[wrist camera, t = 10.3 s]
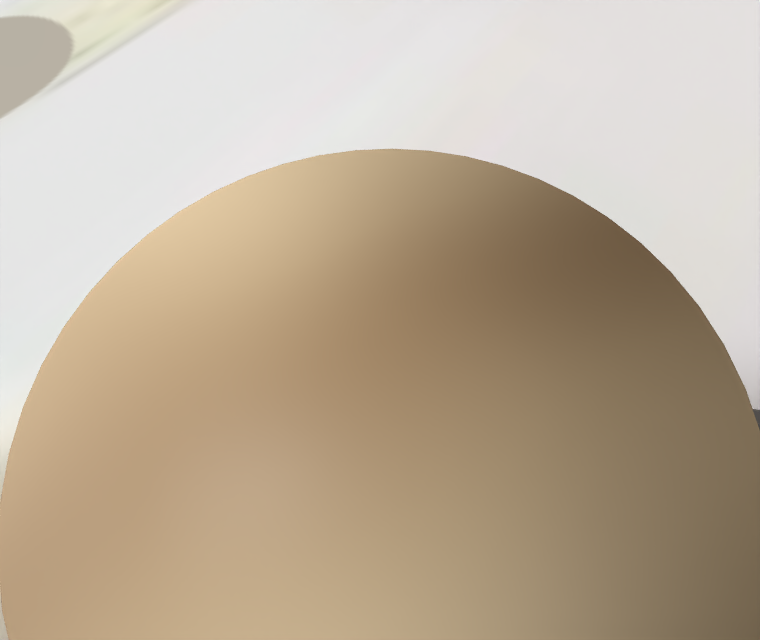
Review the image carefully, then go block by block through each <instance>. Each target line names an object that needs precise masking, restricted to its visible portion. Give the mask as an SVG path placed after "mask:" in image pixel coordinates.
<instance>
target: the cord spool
mask: <svg viewBox="0 0 760 640" xmlns="http://www.w3.org/2000/svg"><path fill="white" fill-rule="evenodd" d="M0 591H1V603H2V612H3V616H4V621H5V625H6V630H7V634H8V638H9V640H760V430H759V427H758V424H757V421H756V418H755V415H754V412H753V409H752V406H751V404H750V401H749V398H748V395H747V392H746V389H745V387H744V385H743V383H742V381H741V379H740V376H739V374H738V372H737V370H736V368H735V366H734V364H733V362H732V360H731V358H730V356H729V354H728V352H727V350H726V348H725V346H724V344H723V342H722V341H721V339H720V338H719V336H718V335H717V333H716V332H715V330H714V329H713V327H712V325H711V324H710V322H709V321H708V319H707V318H706V316H705V315H704V313H703V312H702V310H701V308H700V307H699V306H698V304H697V303H696V302H695V301H694V300H693V298H692V297H691V296H690V295H689V293H688V292H687V291H686V290H685V289H684V287H683V286H682V285H681V284H680V283H679V281H678V280H677V279H676V278H675V276H674V275H673V274H672V273H671V272H670V271H669V270H668V269H667V268H666V267H665V266H664V265H663V264H662V263H661V262H660V261H659V260H658V259H657V258H656V257H655V256H654V255H653V254H652V253H651V252H650V251H649V250H648V249H647V248H645V247H644V246H643V245H642V244H641V243H640V242H639V241H638V240H636V239H635V238H634V237H633V236H631V235H630V234H629V233H627V232H626V231H625V230H624V229H622V228H621V227H620V226H618V225H617V224H616V223H615V222H613V221H612V220H611V219H609V218H608V217H607V216H605V215H603V214H602V213H600V212H599V211H597V210H595V209H594V208H592V207H591V206H589V205H587V204H586V203H584V202H582V201H581V200H579V199H578V198H576V197H574V196H573V195H571V194H568V193H566V192H564V191H562V190H560V189H558V188H556V187H554V186H552V185H550V184H548V183H546V182H544V181H542V180H540V179H537V178H534V177H532V176H529V175H526V174H523V173H521V172H518V171H515V170H513V169H510V168H507V167H504V166H501V165H497V164H493V163H489V162H486V161H482V160H478V159H474V158H470V157H466V156H460V155H453V154H446V153H440V152H433V151H423V150H404V149H377V150H355V151H348V152H340V153H333V154H326V155H319V156H315V157H311V158H306V159H302V160H298V161H294V162H290V163H286V164H282V165H279V166H276V167H273V168H270V169H267V170H264V171H261V172H259V173H256V174H253V175H250V176H247V177H245V178H243V179H241V180H238V181H236V182H234V183H232V184H230V185H227V186H225V187H223V188H221V189H219V190H216V191H214V192H212V193H211V194H209V195H207V196H205V197H204V198H202V199H200V200H199V201H197V202H195V203H193V204H192V205H190V206H188V207H186V208H185V209H183V210H181V211H180V212H178V213H177V214H175V215H174V216H173V217H171V218H170V219H169V220H167V221H166V222H164V223H163V224H162V225H160V226H159V227H157V228H156V229H155V230H153V231H152V232H151V233H149V234H148V235H147V236H146V237H144V238H143V239H142V240H141V241H140V242H139V243H138V244H137V245H135V246H134V247H133V248H132V249H131V250H130V251H129V252H128V253H126V254H125V255H124V256H123V257H122V258H121V259H120V260H119V261H117V263H116V264H115V265H114V266H113V267H112V268H111V269H110V270H109V271H108V272H107V273H106V275H105V276H104V277H103V278H102V279H101V280H100V281H99V282H98V283H97V284H96V285H95V287H94V288H93V289H92V290H91V291H90V292H89V293H88V295H87V296H86V297H85V299H84V300H83V302H82V303H81V304H80V306H79V307H78V308H77V310H76V311H75V312H74V314H73V315H72V316H71V318H70V319H69V321H68V322H67V323H66V325H65V326H64V327H63V329H62V331H61V333H60V334H59V336H58V338H57V340H56V341H55V343H54V345H53V346H52V348H51V350H50V352H49V353H48V355H47V357H46V358H45V360H44V362H43V364H42V365H41V368H40V370H39V372H38V374H37V377H36V379H35V381H34V384H33V386H32V388H31V390H30V393H29V395H28V397H27V400H26V402H25V404H24V406H23V409H22V412H21V416H20V419H19V422H18V425H17V429H16V432H15V435H14V439H13V442H12V445H11V448H10V452H9V456H8V461H7V467H6V473H5V478H4V484H3V490H2V495H1V501H0Z"/></svg>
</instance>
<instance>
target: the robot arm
mask: <svg viewBox="0 0 760 640" xmlns="http://www.w3.org/2000/svg"><path fill="white" fill-rule="evenodd" d="M753 412H754V415H755V418H756V421H757V424H758V427H759V430H760V410H756V409H753Z"/></svg>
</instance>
